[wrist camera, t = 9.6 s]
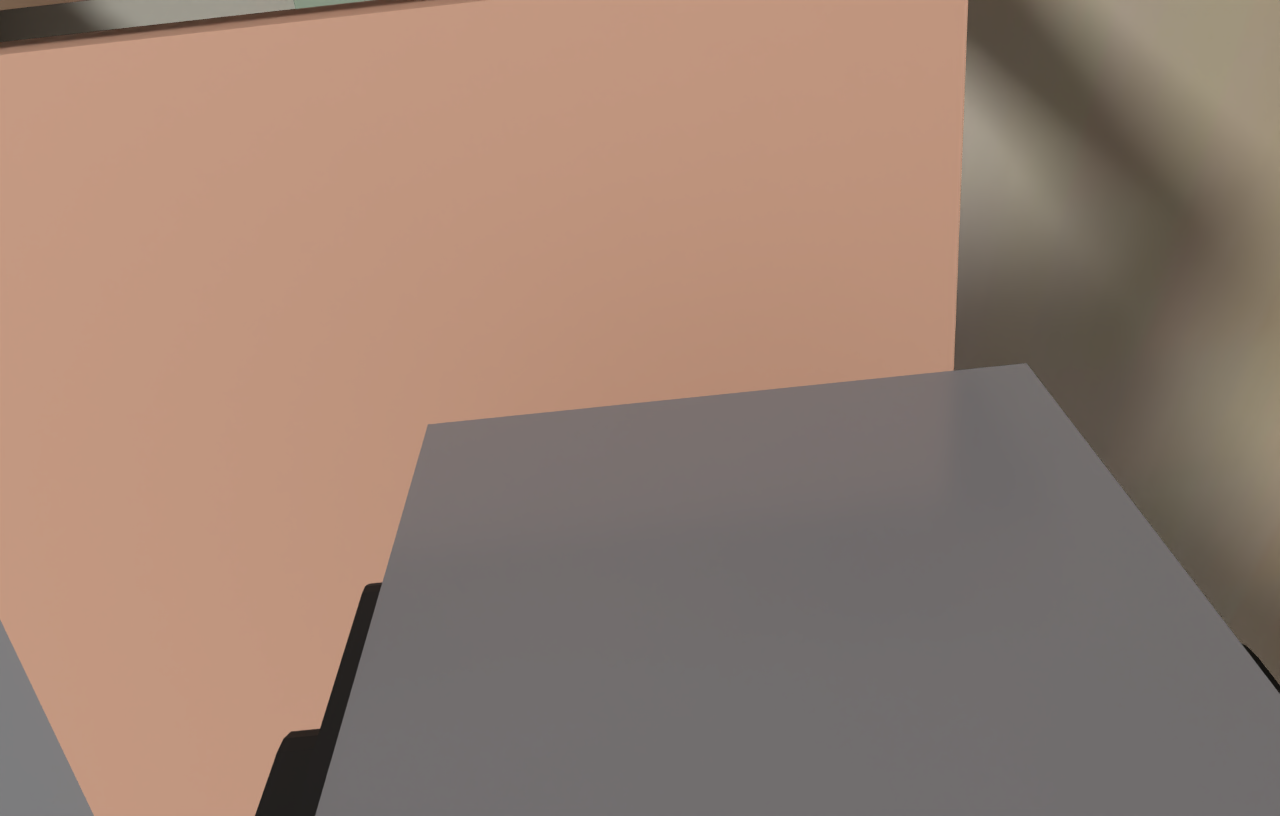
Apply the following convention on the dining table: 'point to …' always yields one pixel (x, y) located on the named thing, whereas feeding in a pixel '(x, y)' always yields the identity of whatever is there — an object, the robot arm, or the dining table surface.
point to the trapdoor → (398, 312)
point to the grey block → (795, 620)
